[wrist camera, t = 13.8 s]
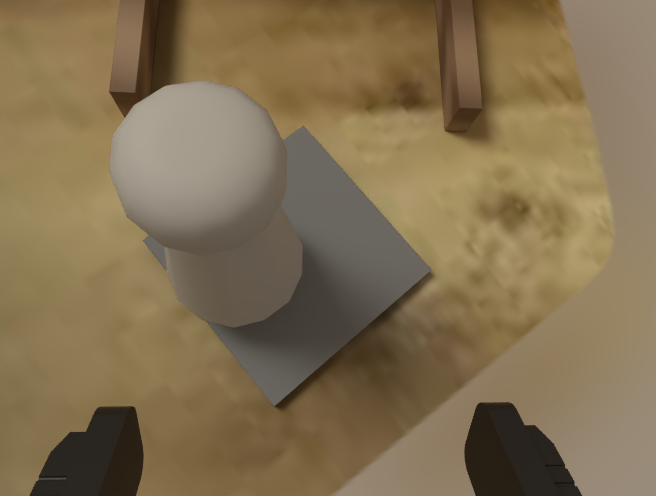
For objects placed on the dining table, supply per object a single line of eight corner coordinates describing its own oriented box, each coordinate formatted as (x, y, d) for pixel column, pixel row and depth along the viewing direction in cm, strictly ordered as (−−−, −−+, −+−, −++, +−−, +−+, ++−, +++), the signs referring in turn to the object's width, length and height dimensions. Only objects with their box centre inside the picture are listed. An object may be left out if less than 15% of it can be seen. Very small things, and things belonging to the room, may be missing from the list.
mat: (274, 406, 23) (273, 406, 22) (146, 243, 24) (142, 240, 24) (427, 272, 25) (431, 270, 25) (303, 131, 27) (303, 126, 26)
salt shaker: (320, 300, 24) (363, 207, 11) (208, 354, 23) (118, 316, 10) (269, 196, 25) (257, 7, 12) (160, 242, 24) (26, 85, 11)
